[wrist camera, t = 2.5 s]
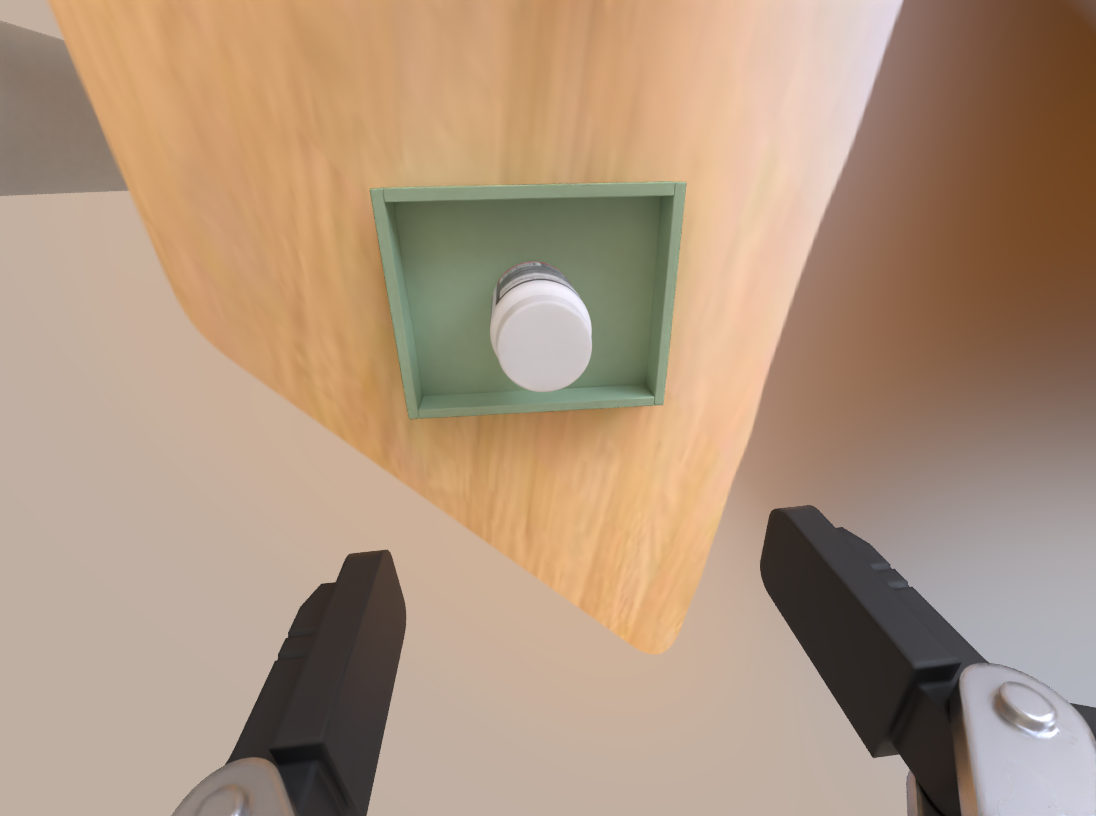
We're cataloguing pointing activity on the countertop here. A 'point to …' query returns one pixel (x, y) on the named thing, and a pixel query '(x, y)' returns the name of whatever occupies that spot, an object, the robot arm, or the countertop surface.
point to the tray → (507, 240)
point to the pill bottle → (539, 327)
